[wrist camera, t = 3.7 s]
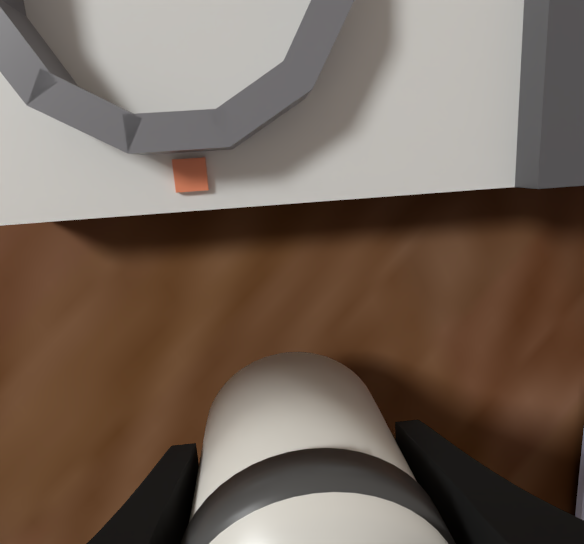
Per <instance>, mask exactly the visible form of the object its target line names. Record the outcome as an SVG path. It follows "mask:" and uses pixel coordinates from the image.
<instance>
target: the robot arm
mask: <svg viewBox="0 0 584 544" xmlns="http://www.w3.org/2000/svg"><path fill="white" fill-rule="evenodd" d="M395 429H396V443H397V445H398V447H399V448H400V450H401V452H402V454H403V456H404V458H405V460H406V462H407V464H408V466H409V468H410V470H411V471H412V473H413V475H414V477H415V479H416V481H417V482H418V483H419V484H420V485H421V487H422V488H423V489H424V490H425V491H426V493H427V494H428V495H429V496H430V498H431V500H432V501H433V503H434V505H435V506H436V508H437V510H438V512H439V513H440V515H441V517H442V519H443V521H444V523H445V525H446V526H447V528H448V530H449V532H450V534H451V536H452V538H453V539H454V541H455V543H456V544H584V430H583V440H582V450H581V461H580V471H579V481H578V491H577V501H576V511H575V516H573V515H571V514H569V513H567V512H565V511H563V510H561V509H559V508H557V507H555V506H553V505H551V504H549V503H547V502H545V501H543V500H541V499H539V498H537V497H535V496H534V495H532V494H530V493H528V492H526V491H524V490H523V489H521V488H519V487H517V486H516V485H514V484H512V483H511V482H509V481H508V480H506V479H504V478H503V477H501V476H499V475H498V474H496V473H494V472H493V471H491V470H490V469H488V468H487V467H485V466H484V465H482V464H481V463H479V462H478V461H476V460H475V459H473V458H472V457H470V456H469V455H467V454H466V453H464V452H463V451H462V450H460V449H459V448H457V447H456V446H454V445H453V444H452V443H450V442H449V441H448V440H446V439H445V438H443V437H442V436H441V435H439V434H438V433H437V432H435V431H434V430H432V429H431V428H430V427H428V426H427V425H425V424H424V423H422V422H421V421H419V420H411V421H401V422H395ZM198 468H199V464H198V456H197V449H196V443H194V444H184V445H175V446H171V447H170V448H169V449H168V451H167V452H166V453H165V454H164V456H163V457H162V458H161V459H160V461H159V462H158V463H157V464H156V466H155V467H154V468H153V470H152V471H151V472H150V473H149V475H148V476H147V477H146V478H145V480H144V481H143V482H142V483H141V485H140V486H139V487H138V488H137V489H136V490H135V492H134V493H133V494H132V495H131V496H130V498H129V499H128V500H127V501H126V502H125V504H124V505H123V506H122V507H121V508H120V509H119V510H118V511H117V512H116V514H115V515H114V516H113V517H112V518H111V519H110V520H109V521H108V522H107V523H106V524H105V525H104V527H103V528H102V529H101V530H100V531H99V532H98V533H97V534H96V535H95V536H94V537H93V538H92V539H91V540H90V541H89V542H88V543H87V544H181V540H182V538H183V535H184V533H185V531H186V528H187V526H188V524H189V519H190V514H191V508H192V502H193V497H194V491H195V485H196V480H197V474H198Z"/></svg>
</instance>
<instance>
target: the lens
mask: <svg viewBox="0 0 584 544" xmlns="http://www.w3.org/2000/svg"><path fill="white" fill-rule="evenodd" d="M181 544H456V543H455V541H454V539H453V538H452V536H451V534H450V532H449V530H448V528H447V526H446V525H445V523H444V521H443V519H442V517H441V515H440V513H439V512H438V510H437V508H436V506H435V505H434V503H433V501H432V500H431V498H430V496H429V495H428V494H427V493H426V491H425V490H424V489H423V488H422V487H421V485H420V484H419V483H418V482H417V481H416V479H415V477H414V475H413V473H412V471H411V470H410V468H409V466H408V464H407V462H406V460H405V458H404V456H403V454H402V452H401V450H400V448H399V447H398V445H397V443H396V441H395V439H394V437H393V435H392V433H391V431H390V429H389V427H388V426H387V424H386V422H385V420H384V418H383V416H382V414H381V412H380V410H379V408H378V406H377V404H376V403H375V401H374V399H373V397H372V395H371V393H370V391H369V390H368V388H367V386H366V385H365V384H364V383H363V381H362V380H361V379H360V378H359V377H358V376H357V375H356V374H355V373H354V372H353V371H352V370H350V369H349V368H348V367H346V366H345V365H343V364H341V363H339V362H337V361H336V360H334V359H331V358H328V357H325V356H323V355H318V354H314V353H306V352H287V353H280V354H275V355H271V356H268V357H264V358H262V359H260V360H257V361H255V362H253V363H251V364H249V365H248V366H246V367H244V368H243V369H241V370H240V371H239V372H237V373H236V374H235V375H234V376H232V377H231V378H230V379H229V380H228V381H227V382H226V383H225V385H224V386H223V387H222V389H221V390H220V391H219V393H218V394H217V396H216V398H215V400H214V401H213V404H212V406H211V408H210V411H209V415H208V419H207V423H206V429H205V434H204V440H203V446H202V451H201V457H200V463H199V468H198V474H197V480H196V485H195V491H194V497H193V502H192V508H191V514H190V519H189V524H188V526H187V528H186V531H185V533H184V535H183V538H182V540H181Z"/></svg>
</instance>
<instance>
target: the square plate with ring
mask: <svg viewBox="0 0 584 544" xmlns="http://www.w3.org/2000/svg"><path fill="white" fill-rule="evenodd" d="M571 186H584V0H0V225H13V224H26V223H39V222H53V221H66V220H80V219H93V218H106V217H120V216H133V215H147V214H160V213H173V212H187V211H200V210H214V209H227V208H241V207H254V206H267V205H281V204H294V203H308V202H321V201H334V200H348V199H361V198H375V197H388V196H402V195H415V194H428V193H442V192H455V191H469V190H482V189H495V188H509V187H520V188H532V189H544V188H557V187H571Z"/></svg>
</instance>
